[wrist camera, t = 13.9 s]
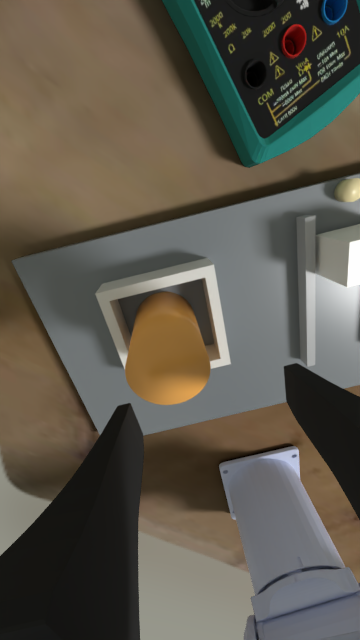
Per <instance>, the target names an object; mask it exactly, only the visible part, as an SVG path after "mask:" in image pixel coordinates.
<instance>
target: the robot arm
mask: <svg viewBox="0 0 360 640" xmlns="http://www.w3.org/2000/svg"><path fill="white" fill-rule="evenodd" d="M284 378H285V392H286V401H287V403H288V405H289V407H290V409H291V411H292V413H293V414H294V416H295V418H296V420H297V422H298V423H299V424H300V426H301V427H302V429H303V430H304V432H305V433H306V435H307V436H308V438H309V439H310V440H311V442H312V443H313V445H314V446H315V448H316V449H317V450H318V452H319V453H320V455H321V456H322V458H323V459H324V461H325V462H326V463H327V465H328V466H329V468H330V469H331V471H332V472H333V474H334V476H335V477H336V479H337V481H338V482H339V484H340V486H341V488H342V489H343V491H344V493H345V494H346V496H347V498H348V500H349V501H350V503H351V505H352V507H353V509H354V510H355V512H356V514H357V516H358V518H359V520H360V397H359V396H356V395H354V394H352V393H350V392H348V391H346V390H344V389H343V388H341V387H339V386H337V385H335V384H333V383H331V382H330V381H328V380H326V379H324V378H322V377H321V376H319V375H317V374H315V373H314V372H312V371H310V370H308V369H307V368H305V367H303V366H301V365H300V364H298V363H294V364H290V365H286V366H284ZM143 459H144V443H143V432H142V430H141V427H140V425H139V423H138V420H137V418H136V415H135V413H134V410H133V408H132V405H131V403H127V404H123V405H119V406H117V408H116V409H115V411H114V413H113V414H112V416H111V418H110V420H109V421H108V423H107V425H106V426H105V428H104V430H103V432H102V433H101V435H100V436H99V438H98V440H97V441H96V443H95V445H94V446H93V448H92V449H91V451H90V452H89V454H88V455H87V457H86V458H85V460H84V461H83V463H82V464H81V466H80V467H79V469H78V470H77V471H76V473H75V474H74V475H73V477H72V478H71V479H70V481H69V482H68V483H67V484H66V486H65V487H64V488H63V489H62V491H61V492H60V493H59V494H58V496H57V497H56V498H55V499H54V500H53V501H52V502H51V504H50V505H49V506H48V507H47V508H46V509H45V510H44V512H43V513H42V514H41V515H40V516H39V517H38V518H37V519H36V520H35V522H34V523H33V524H32V525H31V526H30V527H29V528H28V529H27V530H26V531H25V532H24V533H23V534H22V535H21V536H20V537H19V538H18V539H17V540H16V541H15V542H14V543H13V544H12V545H11V546H10V547H9V548H8V549H7V550H6V551H5V552H4V553H3V554H2V555H1V556H0V640H140V626H139V594H138V593H139V592H138V516H139V503H140V493H141V482H142V471H143ZM219 469H220V473H221V477H222V481H223V485H224V489H225V493H226V497H227V501H228V505H229V510H230V514H231V518H232V519H236V521H237V525H238V529H239V533H240V537H241V541H242V545H243V549H244V553H245V557H246V560H247V564H248V568H249V572H250V576H251V580H252V584H253V588H254V592H255V596H253V597H251V602H252V606H253V610H254V614H255V615H250V616H249V617H248V619H247V624H246V628H245V632H244V640H360V583H358V582H357V580H356V579H355V577H354V575H353V573H352V571H351V569H350V568H349V567H345V565H344V563H343V561H342V559H341V557H340V556H339V554H338V552H337V550H336V548H335V546H334V544H333V542H332V540H331V538H330V536H329V534H328V533H327V531H326V529H325V527H324V525H323V523H322V521H321V519H320V517H319V515H318V513H317V511H316V509H315V508H314V506H313V504H312V502H311V500H310V498H309V496H308V494H307V492H306V490H305V488H304V486H303V485H302V483H301V481H300V469H299V450H298V449H297V447H295V446H291V447H287V448H282V449H278V450H274V451H270V452H265V453H261V454H257V455H252V456H248V457H244V458H239V459H235V460H231V461H226V462H222V463H221V464H220V465H219Z"/></svg>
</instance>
